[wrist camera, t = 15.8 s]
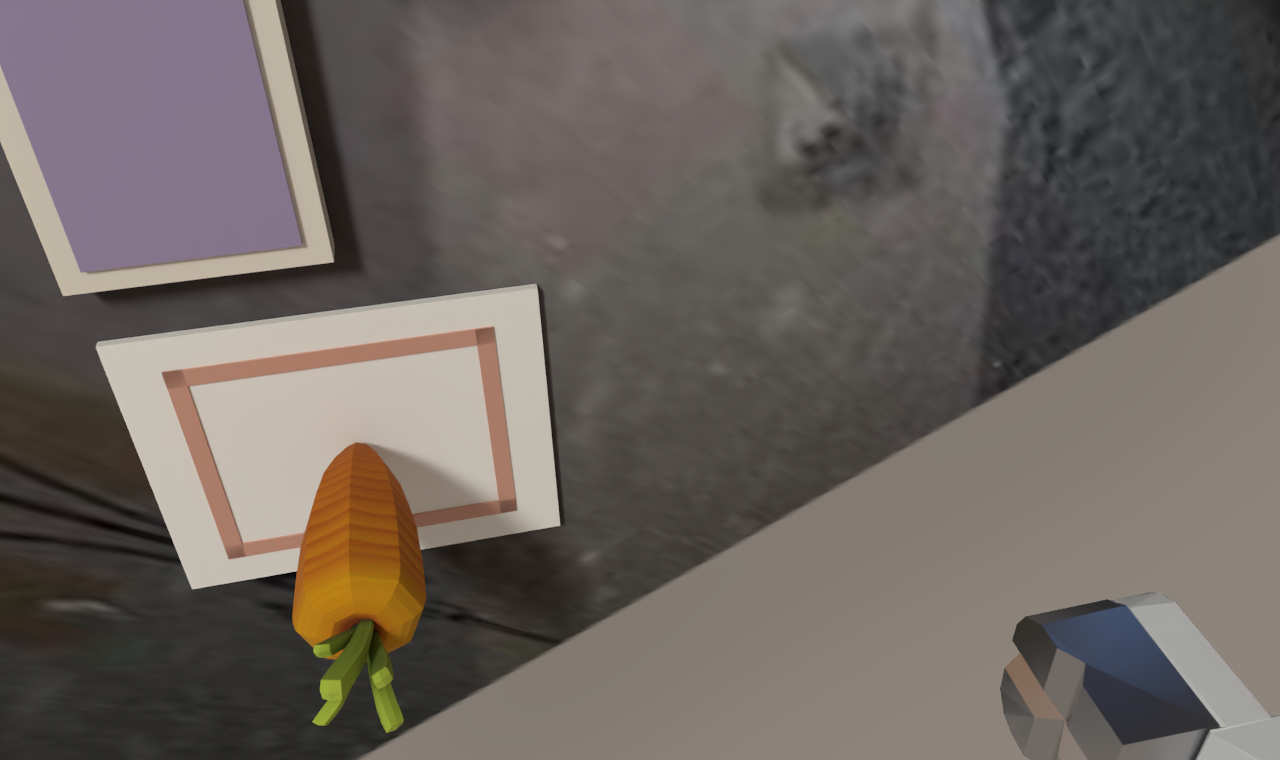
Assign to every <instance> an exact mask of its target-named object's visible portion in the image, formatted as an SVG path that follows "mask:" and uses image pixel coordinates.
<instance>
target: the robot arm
mask: <svg viewBox="0 0 1280 760" xmlns="http://www.w3.org/2000/svg"><path fill="white" fill-rule="evenodd" d="M1013 642H1014V644H1015V645H1016V647H1017V648H1018V650H1019V652H1020V653H1019V654H1018V655H1017V656H1016V657H1015V658H1014V659H1013V660H1012V661H1011V662H1010V663H1009V664H1008V665H1007V666H1006V667H1005V669H1004V674H1003V678H1002V683H1001V688H1000V690H1001V697H1002V704H1003V711H1004V715H1005V718H1006V720H1007V723H1008V726H1009V728H1010V731H1011V733H1012V735H1013V737H1014V739H1015V741H1016V743H1017V744H1018V746H1019V748H1020V750H1021V751H1022V753H1023V755H1024V756H1026V757H1028V758H1029V759H1030V760H1280V715H1278V716H1272V717H1271V716H1270V715H1269V714H1268V713H1267V712H1266V710H1265V709H1264V708H1263V707H1262V706H1261V704H1260V703H1259V702H1258V701H1257V700H1256V698H1255V697H1254V696H1253V695H1252V694H1251V693H1250V691H1249V690H1248V689H1247V688H1246V687H1245V685H1244V684H1243V683H1242V682H1241V681H1240V680H1239V678H1238V677H1237V676H1236V675H1235V673H1234V672H1233V671H1232V670H1231V669H1230V668H1229V666H1228V665H1227V664H1226V663H1225V662H1224V660H1223V659H1222V658H1221V657H1220V656H1219V654H1218V653H1217V652H1216V651H1215V650H1214V649H1213V647H1212V646H1211V645H1210V644H1209V642H1208V641H1207V640H1206V639H1205V638H1204V637H1203V635H1202V634H1201V633H1200V632H1199V631H1198V629H1197V628H1196V627H1195V626H1194V625H1193V624H1192V622H1191V621H1190V620H1189V619H1188V618H1187V616H1186V615H1185V614H1184V613H1183V612H1182V611H1181V609H1180V608H1179V607H1178V606H1177V605H1176V603H1175V602H1174V601H1173V600H1172V599H1171V598H1169V597H1168V596H1166V595H1164V594H1163V593H1161V592H1149V593H1144V594H1140V595H1135V596H1130V597H1126V598H1121V599H1117V600H1112V601H1110V600H1103V601H1098V602H1093V603H1089V604H1084V605H1079V606H1074V607H1070V608H1065V609H1060V610H1055V611H1050V612H1046V613H1041V614H1036V615H1031V616H1026V617H1025V618H1024V619H1022V620H1021V621H1020V622H1019V623H1018V624H1017V626H1016V630H1015V633H1014V636H1013Z"/></svg>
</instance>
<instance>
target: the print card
mask: <svg viewBox="0 0 1280 760" xmlns="http://www.w3.org/2000/svg"><path fill="white" fill-rule="evenodd" d="M96 349H97V352H98V354H99V357H100V359H101V362H102V365H103V367H104V370H105V372H106V375H107V377H108V380H109V382H110V385H111V387H112V390H113V392H114V395H115V397H116V400H117V402H118V405H119V407H120V410H121V412H122V415H123V417H124V420H125V422H126V425H127V427H128V430H129V432H130V435H131V437H132V440H133V442H134V445H135V447H136V450H137V452H138V455H139V457H140V460H141V462H142V465H143V467H144V470H145V472H146V475H147V477H148V480H149V483H150V485H151V488H152V490H153V493H154V495H155V498H156V500H157V503H158V505H159V508H160V510H161V513H162V515H163V518H164V520H165V523H166V525H167V528H168V530H169V533H170V535H171V538H172V540H173V543H174V545H175V548H176V550H177V553H178V555H179V558H180V560H181V563H182V565H183V568H184V570H185V573H186V575H187V578H188V580H189V583H190V585H191V588H192V589H197V588H203V587H209V586H215V585H220V584H226V583H232V582H238V581H244V580H249V579H255V578H261V577H267V576H272V575H278V574H284V573H290V572H296V571H297V569H298V562H299V555H300V547H301V544H302V540H303V537H304V533H305V530H306V526H307V523H308V519H309V516H310V513H311V509H312V506H313V502H314V499H315V496H316V492H317V490H318V487H319V484H320V482H321V479H322V476H323V473H324V472H325V470H326V469H327V468H328V466H329V465H330V463H331V462H332V461H333V459H334V458H335V457H336V456H337V455H338V454H340V453H341V452H342V451H343V450H344V449H345V448H346V447H348V446H350V445H352V444H354V443H356V442H358V443H364V444H367V445H369V446H370V447H371V448H372V449H373V450H374V451H376V452H377V454H378V455H379V456H380V457H381V459H382V460H383V461H384V462H385V464H386V465H387V466H388V467H389V469H390V470H391V472H392V473H393V474H394V476H395V477H396V479H397V480H398V482H399V483H400V484H401V487H402V489H403V492H404V494H405V496H406V499H407V501H408V504H409V506H410V509H411V512H412V515H413V518H414V521H415V524H416V527H417V532H418V538H419V544H420V550H423V549H428V548H434V547H440V546H446V545H451V544H457V543H463V542H469V541H475V540H480V539H486V538H492V537H498V536H503V535H509V534H515V533H521V532H527V531H532V530H538V529H544V528H550V527H555V526H560V517H559V506H558V496H557V485H556V475H555V465H554V454H553V444H552V433H551V423H550V412H549V402H548V392H547V381H546V371H545V360H544V350H543V339H542V329H541V319H540V308H539V298H538V288H537V284H529V285H522V286H514V287H507V288H499V289H492V290H484V291H477V292H469V293H462V294H454V295H447V296H439V297H432V298H424V299H416V300H409V301H401V302H394V303H386V304H379V305H371V306H364V307H356V308H349V309H341V310H334V311H326V312H318V313H311V314H303V315H296V316H288V317H281V318H273V319H266V320H258V321H251V322H243V323H236V324H228V325H220V326H213V327H205V328H198V329H190V330H183V331H175V332H168V333H160V334H153V335H145V336H138V337H130V338H123V339H115V340H107V341H100V342H97V345H96Z"/></svg>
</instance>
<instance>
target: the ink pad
mask: <svg viewBox="0 0 1280 760" xmlns="http://www.w3.org/2000/svg"><path fill="white" fill-rule="evenodd" d="M0 142H1V145H2V147H3V149H4V152H5V154H6V157H7V159H8V162H9V164H10V167H11V169H12V172H13V174H14V177H15V179H16V181H17V184H18V186H19V189H20V191H21V194H22V196H23V199H24V201H25V204H26V206H27V209H28V211H29V213H30V216H31V218H32V221H33V223H34V226H35V228H36V231H37V233H38V236H39V238H40V241H41V243H42V245H43V248H44V250H45V253H46V255H47V258H48V260H49V263H50V265H51V268H52V270H53V273H54V275H55V277H56V280H57V282H58V285H59V287H60V290H61V292H62V295H63V296H68V295H76V294H84V293H92V292H100V291H108V290H116V289H124V288H132V287H140V286H148V285H156V284H164V283H172V282H180V281H188V280H196V279H204V278H212V277H220V276H228V275H236V274H244V273H252V272H260V271H268V270H276V269H284V268H292V267H300V266H308V265H316V264H324V263H332V262H334V252H335V244H334V239H333V235H332V230H331V226H330V221H329V217H328V212H327V208H326V203H325V199H324V194H323V190H322V185H321V181H320V176H319V172H318V167H317V163H316V158H315V153H314V149H313V144H312V140H311V135H310V131H309V126H308V122H307V117H306V113H305V108H304V104H303V99H302V95H301V90H300V86H299V81H298V77H297V72H296V68H295V63H294V59H293V54H292V50H291V45H290V41H289V36H288V32H287V27H286V22H285V18H284V13H283V9H282V4H281V0H0Z"/></svg>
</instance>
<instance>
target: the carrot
mask: <svg viewBox="0 0 1280 760" xmlns="http://www.w3.org/2000/svg"><path fill="white" fill-rule="evenodd" d="M425 601H426V588H425V580H424V571H423V563H422V556H421V550H420V544H419V538H418V532H417V527H416V524H415V521H414V518H413V515H412V512H411V509H410V506H409V504H408V501H407V499H406V496H405V494H404V492H403V489H402V487H401V484H400V483H399V482H398V480H397V479H396V477H395V476H394V474H393V473H392V472H391V470H390V469H389V467H388V466H387V465H386V464H385V462H384V461H383V460H382V459H381V457H380V456H379V455H378V454H377V452H376V451H374V450H373V449H372V448H371V447H370V446H369V445H367V444H364V443H358V442H356V443H354V444H352V445H350V446H348V447H346V448H345V449H344V450H343V451H342V452H341V453H340V454H338V455H337V456H336V457H335V458H334V459H333V461H332V462H331V463H330V465H329V466H328V468H327V469H326V470H325V472H324V473H323V476H322V479H321V482H320V484H319V487H318V490H317V492H316V496H315V499H314V502H313V506H312V509H311V513H310V516H309V519H308V523H307V526H306V530H305V533H304V537H303V540H302V544H301V547H300V555H299V562H298V569H297V576H296V584H295V594H294V604H293V615H292V617H293V625H294V627H295V630H296V632H298V633H299V634H300V635H301V636H302V637H303V638H304V639H305V640H306V641H307V642H308V643H309V644H310V645H311V646H312V647H313V648H314V650H313V652H314V654H315V655H316V656H317V657H322V658H324V657H325V658H327V659H336V660H335V662H334V663H333V664H332V665H331V666H330V668H329V669H328V671H327V672H326V674H325V675H324V676H323V678H322V679H321V684H320V693H321V696H322V698H323V699H325V700H328V701H327V702H326V704H325V705H324V706H323V708H322V709H321V710H320V712H319V713H318V714H317V716H316V717H315V719H314V720H313V721H312V722H313V723H315V724H317V725H324V726H326V725H328V724H329V723H330V722H331V720H332V719H333V718H334V717H335V716H336V714H337V713H338V712H339V710H340V709H341V707H342V706H343V704H344V702H345V700H346V698H347V696H348V693H349V691H350V689H351V686H352V685H353V684H354V682H355V680H356V678H357V677H358V675H359V673H360V672H361V670H362V668H363V667H364V664H365V662H367V667H368V672H369V677H370V681H371V686H372V691H373V695H374V700H375V704H376V709H377V711H378V714H379V717H380V720H381V723H382V725H383V727H384V729H385V731H386V733H388V732H391V731H394V730H396V729H397V728H398V727H399V726H401V725H402V723H403V721H404V720H403V716H402V713H401V710H400V708H399V706H398V703H397V701H396V698H395V695H394V692H393V689H392V686H391V683H390V682H391V681H392V680H393V669H392V664H391V660H390V657H389V655H388V653H389V652H391V651H393V650H395V649H397V648H399V647H401V646H403V645H405V644H407V643H408V642H410V641H411V639H412V637H413V634H414V631H415V629H416V626H417V623H418V621H419V618H420V616H421V613H422V610H423V607H424V604H425Z"/></svg>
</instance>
